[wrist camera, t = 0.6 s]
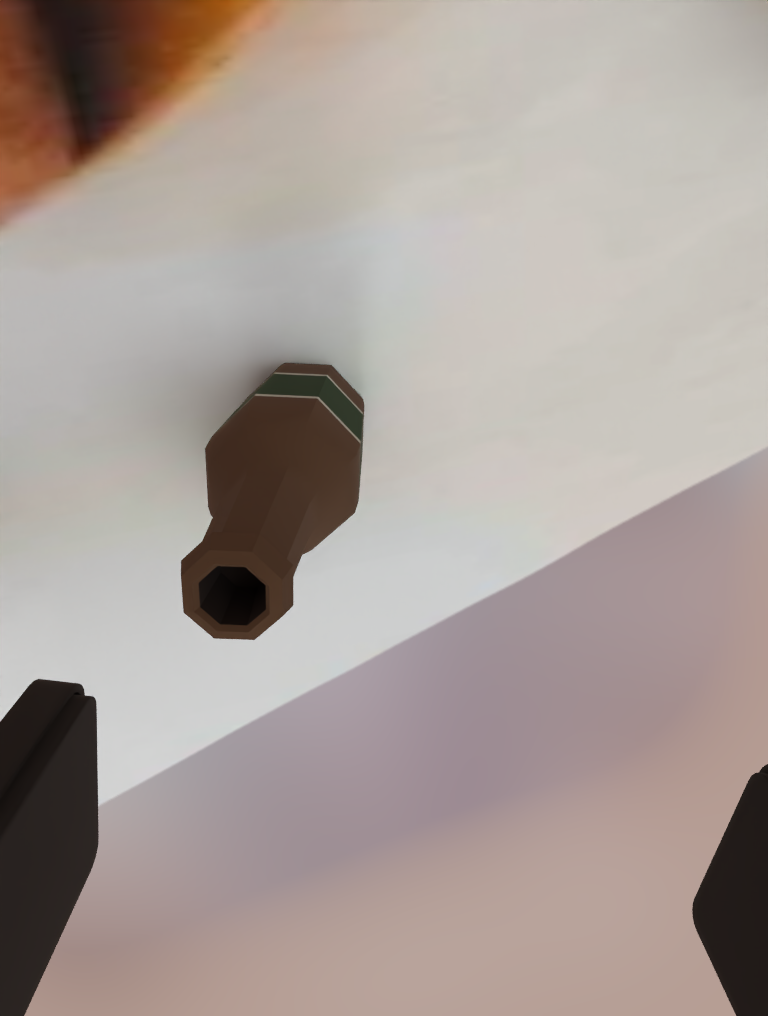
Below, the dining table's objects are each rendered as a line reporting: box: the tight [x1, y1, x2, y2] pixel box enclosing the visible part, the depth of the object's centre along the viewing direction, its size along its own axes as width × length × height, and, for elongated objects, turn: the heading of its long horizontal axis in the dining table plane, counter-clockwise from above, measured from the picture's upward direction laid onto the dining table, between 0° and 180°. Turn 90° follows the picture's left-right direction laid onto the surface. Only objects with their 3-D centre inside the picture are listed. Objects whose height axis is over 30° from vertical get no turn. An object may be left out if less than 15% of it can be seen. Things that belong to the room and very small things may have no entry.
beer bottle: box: [181, 363, 364, 640], centre depth 31 cm, size 8×8×24 cm
